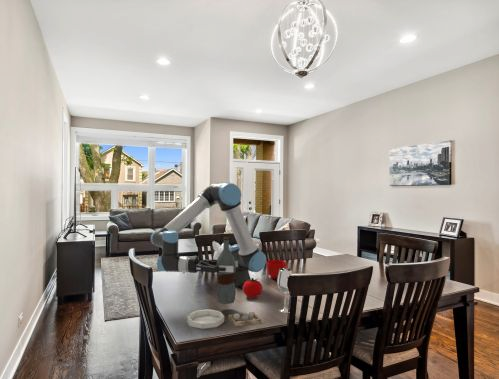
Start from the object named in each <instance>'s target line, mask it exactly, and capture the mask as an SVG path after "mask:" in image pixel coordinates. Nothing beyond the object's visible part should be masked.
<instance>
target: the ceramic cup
mask: <svg viewBox="0 0 499 379" xmlns="http://www.w3.org/2000/svg"><path fill="white" fill-rule="evenodd" d="M265 267H266V272H267V274H268V275H269V278H271V279H274V280H277V279H278V274H279V270H280V269H281V268H289V266H287V261H285V260H281V259H271V260H270V259H269V260H266V264H265Z"/></svg>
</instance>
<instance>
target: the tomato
mask: <svg viewBox="0 0 499 379" xmlns="http://www.w3.org/2000/svg"><path fill="white" fill-rule="evenodd" d="M250 278H251V280H250V279H248V281H246V282H245V283H244V285H243V287H242V292H243V293H244V295H245V296H246V297H248V298H252V299H253V298H257V297H260V295H261V294H262V292H263V285H262V283H261V281H259V280H258V278H256V279H254V277H250Z"/></svg>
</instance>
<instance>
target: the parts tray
mask: <svg viewBox="0 0 499 379" xmlns="http://www.w3.org/2000/svg"><path fill="white" fill-rule="evenodd" d="M251 312H252V313H253V314H254V316H253V318H252V319H249V318H248V320H246V321H242V319H241V318H242V316H243V315H247V313H248V312H243V313H238V314H239V315H240V319H239V320H237V321H236V320H234V318H233V316H234V314H235V313H233V314H228V317H227V318H228V321H230V323H231V324H232V325H233V326H234V327H241V326H249V325H255V324H262V318H260V316H259V315H258V314H257V313H255V312H254V311H251Z"/></svg>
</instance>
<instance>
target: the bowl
mask: <svg viewBox="0 0 499 379" xmlns="http://www.w3.org/2000/svg"><path fill="white" fill-rule="evenodd" d="M186 322H187V325H188V327H189V328H192V327H193V328H197V329H202V330H204V329H211V328H218V327H219V326H221V325H222V324H223V323H224V322H225V315H224V314H223V313H222V312H221V311H220V310H216V309H215V310H214V309H207V308H206V309H198V310H194V311H193V312H191V313H189V314H187V316H186Z"/></svg>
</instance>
